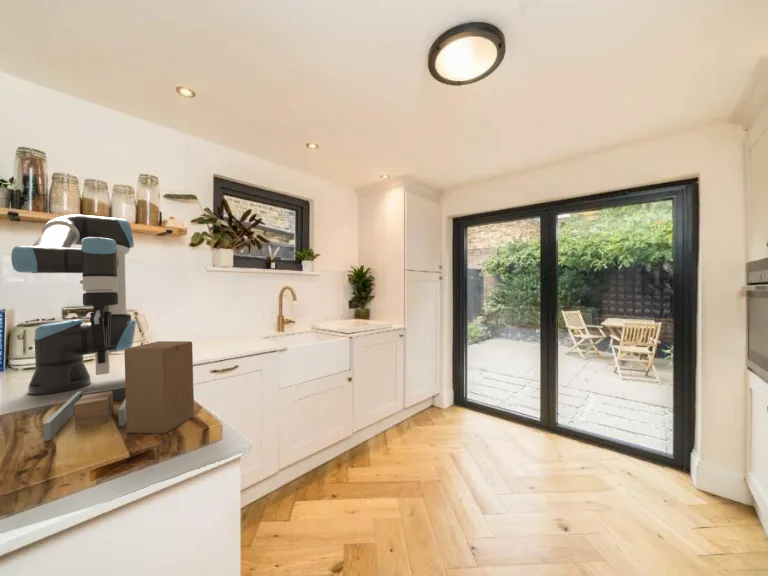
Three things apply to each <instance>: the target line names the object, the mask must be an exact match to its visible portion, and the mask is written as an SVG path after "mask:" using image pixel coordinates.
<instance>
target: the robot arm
mask: <svg viewBox="0 0 768 576" xmlns="http://www.w3.org/2000/svg"><path fill="white" fill-rule="evenodd" d="M133 236H134V235H133V231H132V227H131V223H130V221H129V220H127V219H125V218H117V217H115V216H113V217H108V216H99V215H98V216H97V215H87V214H67V215H63V216H62V215H61V216H59V217H56V218H53V219H51V220H49V221H48V222H46V223H45V224H44V225H43V227H41V234H40V236H39V237H38V238H37V240H36V241H35V242H34V243H33V245H16V246H14V247H13V248H12V249H11V253H10V254H11V256H10V257H11V259H10V260H11V266H12V268H13V270H14V271H16V272H18V273H29V274H30V273H31V274H82V276H81V277H82V280H79V283H80V284H81V285H82V291H84V292H83V294H82V305H83V306H84V307H93V308H92V312H90V317H89V321H90V322H89V321H88V322H84V320H83V319H82V318H78V319H77V318H76V319H69V320H63V321H57V322H49V323H45V324H41V325H39V326H37V327H36V328H35V330H34V339H33V341H34V352H35V353H34V357H35V358H34V359H35V360H34V361H35V369H34V373H33V375H32V377H31V379H30V382H29V384H28V386H27V387H28V388H27V391H28V394H29V395H47V394H56V393H61V392H66V391H70V390H71V391H72V390H76V389H79V388H82V387H85V386H87V385H89V384H91V375H90V373H89V371H88V369H87V367H86V365H85V363H84V356H85V355H93V354H94V356H95V376H99V375H108V374H110V353H112V352H116V353H117V352H120V351H125V349H127V348H131V347H133V343H134V340H135V339H134V338H135V332H136V323H137V320H136V319H133V318H132V314H130V313H129V312H127V303H126V301H127V298H126V297H127V295H126V293H127V291H126V290H127V289H126V287H127V286H126V254H128V253H129V252H130V249H132V248H134V246H135V245H134V237H133ZM74 245H76V246H77V245H78V246H79V245H81V247H80V248H78V247H76V248H75V247H72V246H74Z"/></svg>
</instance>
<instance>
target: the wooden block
mask: <svg viewBox="0 0 768 576" xmlns="http://www.w3.org/2000/svg"><path fill="white" fill-rule="evenodd" d="M123 351H124V381H125V384H124V385H125V391H126V422H125V424H126V433H131V434H134V433H135V434H160V435H161V434H162V435H163V434H166V433H168V432H170V431H172V430H174V429H175V428H177V427H179V426H180V425H182V424H183V423H185V422H187V421H189V420H190V419H191V418H193V417H194V415H195V404H194V403H195V402H194V401H195V398H194V396H195V395H194V361H193V360H194V359H193V357H194V356H193V342H192V341H188V340H187V341H186V340H183V341H181V340H178V341H176V340H175V341H172V340H171V341H165V340H164V341H162V340H161V341H160V340H159V341H155V342H150V343H144V344H141V345H136V346H132V347H131V348H127V349H125V350H123Z"/></svg>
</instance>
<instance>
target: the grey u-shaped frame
mask: <svg viewBox="0 0 768 576" xmlns="http://www.w3.org/2000/svg"><path fill="white" fill-rule="evenodd" d="M108 391H113V402H116V401H122V404H121V405H120V406H119V409H118V427H122V426H125V424H126V391H125V386H118V387H112V388H104V389H98V390H91V391H85V392H83V390H80V391H76V392H75V393H74V394H73V395H72V396H70V398H69V399H68V400H67V401H65V403H64V404H63V405H62V406H60V408H59V409H57V410H56V411H55V412H54V413H53V414H51V416H50V417H48V419H46V420H45V421H44V422H43V442H47V441H51V440H52V439H53V438H54V436H55V435H57V433H58V432H59V431H60V430H61V429H62V428H63V427H64V426H65V424H66V423H67V422H68V421H69V420H70V419H71V417H72V416H73V415H75V404H76V403H77V401H78V400H79V399H80V398H81V397H82V396H83V395H89V394H95V393H102V392H108ZM61 427H62V428H61Z"/></svg>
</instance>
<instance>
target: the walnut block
mask: <svg viewBox="0 0 768 576" xmlns="http://www.w3.org/2000/svg"><path fill="white" fill-rule="evenodd" d="M113 413H114V401H113V391H108V392H102V393H95V394H89V395H83V396H82V397H81V398H80V399H79V400H78V401H77V403H76V404H75V413H74V427H75V429H79V428H78V427H80V428H84V426H85V427H89V426H88V425H91V426H95V425H94V424H96V425H100V424H101V425H102V424H106V423H108V422H109V420H110V419H111V417H112V415H113Z"/></svg>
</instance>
